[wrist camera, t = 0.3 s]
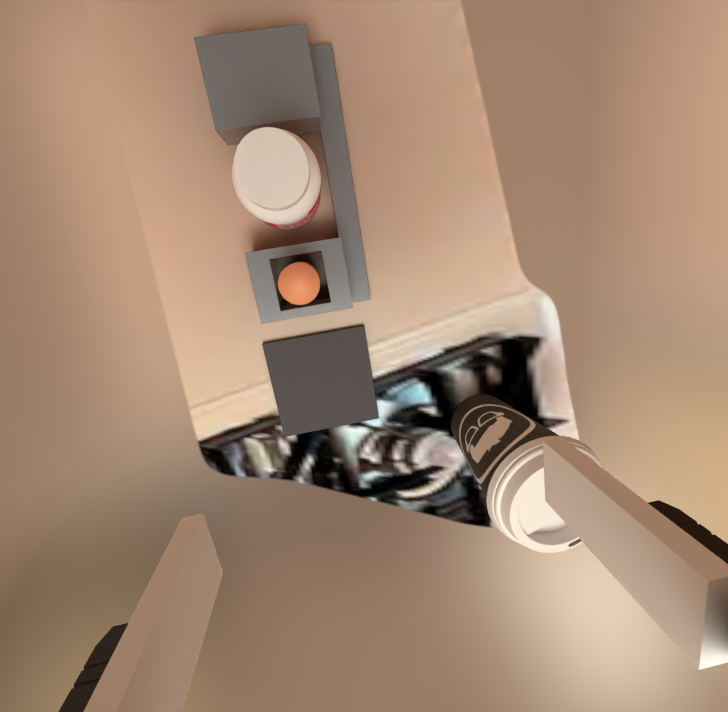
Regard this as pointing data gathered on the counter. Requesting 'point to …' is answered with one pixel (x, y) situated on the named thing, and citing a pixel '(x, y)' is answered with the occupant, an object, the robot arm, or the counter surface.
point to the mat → (322, 380)
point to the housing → (300, 116)
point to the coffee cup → (513, 471)
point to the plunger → (299, 283)
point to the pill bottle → (277, 177)
